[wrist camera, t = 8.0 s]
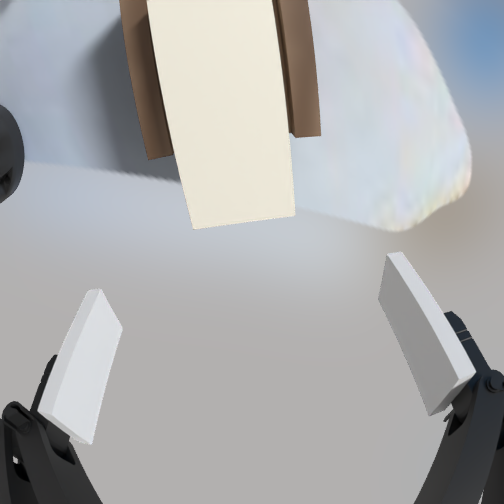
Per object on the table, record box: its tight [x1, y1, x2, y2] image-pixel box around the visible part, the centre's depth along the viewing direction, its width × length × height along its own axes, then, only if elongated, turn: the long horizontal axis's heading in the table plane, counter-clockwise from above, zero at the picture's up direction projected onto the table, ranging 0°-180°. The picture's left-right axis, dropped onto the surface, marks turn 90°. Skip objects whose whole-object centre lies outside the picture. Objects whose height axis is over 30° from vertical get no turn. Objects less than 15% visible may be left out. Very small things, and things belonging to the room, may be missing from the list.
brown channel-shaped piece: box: [119, 0, 321, 160], centre depth 20 cm, size 14×18×10 cm
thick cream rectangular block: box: [147, 0, 295, 230], centre depth 19 cm, size 8×18×4 cm, turn 7°
